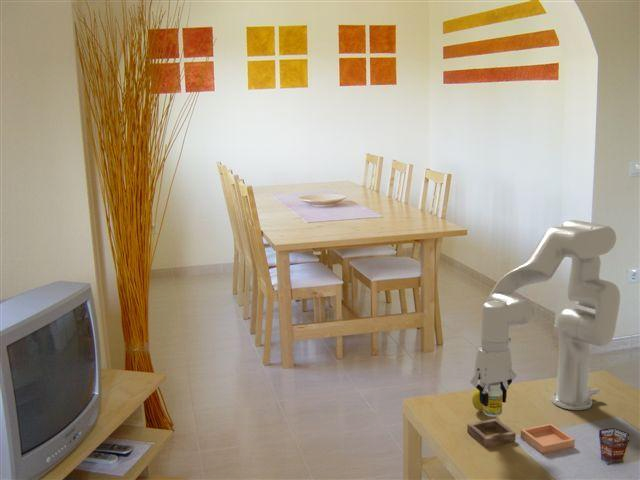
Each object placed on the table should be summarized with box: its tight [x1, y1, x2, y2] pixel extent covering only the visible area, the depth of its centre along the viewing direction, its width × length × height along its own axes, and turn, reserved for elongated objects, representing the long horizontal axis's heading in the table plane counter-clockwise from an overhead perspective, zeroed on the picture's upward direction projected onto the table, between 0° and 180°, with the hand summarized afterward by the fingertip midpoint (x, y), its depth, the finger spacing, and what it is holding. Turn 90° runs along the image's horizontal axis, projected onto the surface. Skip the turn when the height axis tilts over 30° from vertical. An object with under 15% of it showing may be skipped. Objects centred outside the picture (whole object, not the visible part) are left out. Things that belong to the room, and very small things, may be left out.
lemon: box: [471, 388, 484, 413], centre depth 221 cm, size 6×6×8 cm
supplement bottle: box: [482, 382, 503, 418], centre depth 203 cm, size 5×5×10 cm
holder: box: [466, 418, 517, 448], centre depth 205 cm, size 10×10×2 cm
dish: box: [520, 422, 575, 455], centre depth 201 cm, size 11×11×2 cm
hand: (492, 401), depth 204 cm, fingers closed on supplement bottle, 5 cm apart
